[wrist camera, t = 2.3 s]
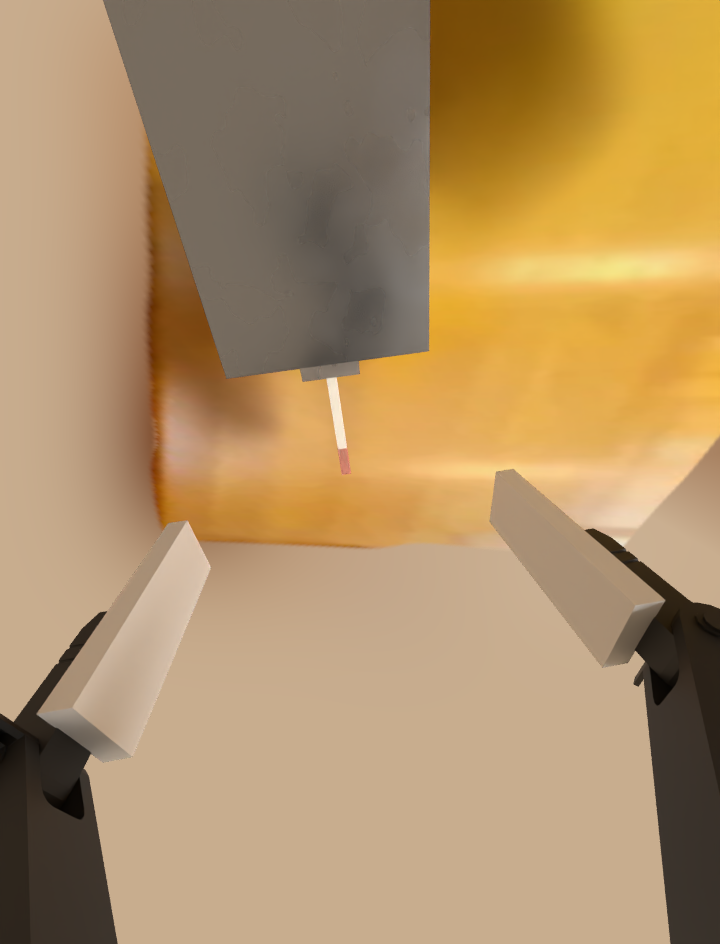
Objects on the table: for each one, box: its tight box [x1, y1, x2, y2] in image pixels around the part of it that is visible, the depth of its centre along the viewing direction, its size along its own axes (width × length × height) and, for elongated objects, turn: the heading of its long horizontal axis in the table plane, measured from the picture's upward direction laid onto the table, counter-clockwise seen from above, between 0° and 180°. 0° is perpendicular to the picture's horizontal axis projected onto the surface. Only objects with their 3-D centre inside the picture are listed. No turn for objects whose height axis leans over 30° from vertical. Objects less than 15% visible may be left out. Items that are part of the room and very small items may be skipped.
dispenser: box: [103, 0, 430, 382], centre depth 19 cm, size 13×10×16 cm
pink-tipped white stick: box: [327, 377, 351, 475], centre depth 20 cm, size 18×1×6 cm, turn 6°
